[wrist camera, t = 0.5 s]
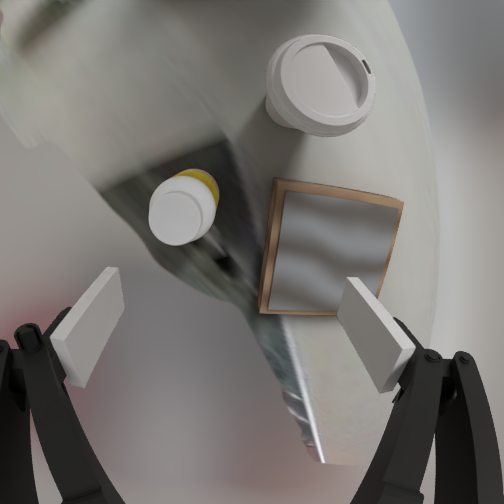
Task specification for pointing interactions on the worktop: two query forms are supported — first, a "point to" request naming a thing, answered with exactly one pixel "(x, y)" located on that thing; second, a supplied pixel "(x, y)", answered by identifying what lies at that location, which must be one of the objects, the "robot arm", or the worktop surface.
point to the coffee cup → (319, 86)
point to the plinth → (323, 245)
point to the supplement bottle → (183, 207)
